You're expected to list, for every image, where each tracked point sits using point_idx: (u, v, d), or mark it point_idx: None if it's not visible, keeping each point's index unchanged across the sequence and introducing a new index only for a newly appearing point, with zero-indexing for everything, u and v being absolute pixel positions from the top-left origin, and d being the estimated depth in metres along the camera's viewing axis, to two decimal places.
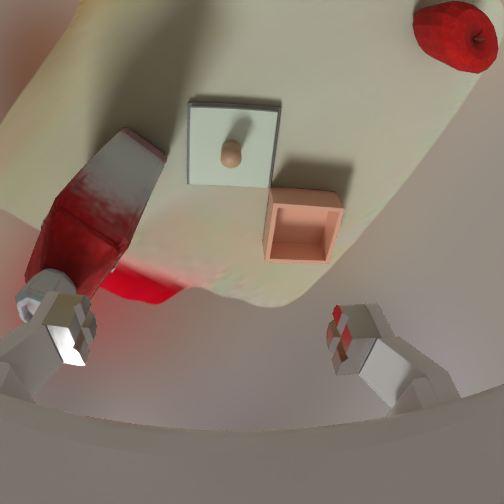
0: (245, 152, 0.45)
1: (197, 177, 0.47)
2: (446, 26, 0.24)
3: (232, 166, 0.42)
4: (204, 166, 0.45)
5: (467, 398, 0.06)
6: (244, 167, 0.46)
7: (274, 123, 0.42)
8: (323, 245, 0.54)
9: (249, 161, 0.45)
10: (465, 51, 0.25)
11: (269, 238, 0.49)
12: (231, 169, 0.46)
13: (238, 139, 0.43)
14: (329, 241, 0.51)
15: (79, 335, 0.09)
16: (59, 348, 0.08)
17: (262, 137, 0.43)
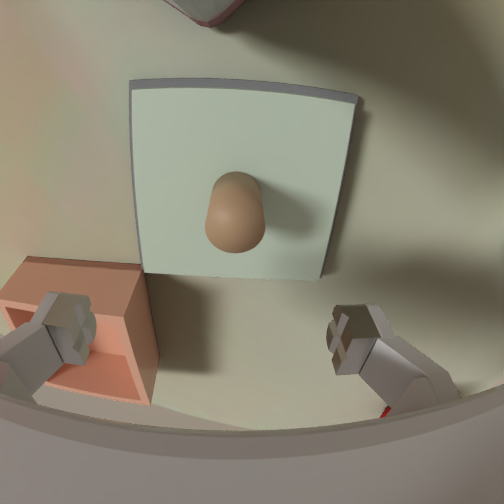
0: None
1: (151, 110, 0.15)
2: None
3: (211, 232, 0.15)
4: (185, 127, 0.16)
5: (467, 398, 0.06)
6: (187, 224, 0.19)
7: (295, 277, 0.22)
8: None
9: (203, 234, 0.19)
10: None
11: None
12: (179, 195, 0.18)
13: None
14: (80, 382, 0.24)
15: (79, 335, 0.09)
16: (59, 348, 0.08)
17: (264, 258, 0.21)
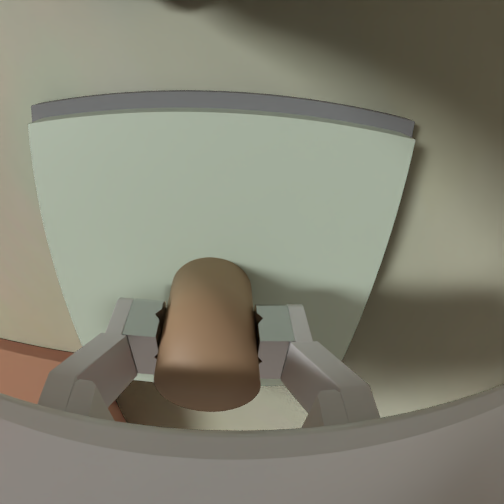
0: None
1: (58, 157, 0.08)
2: None
3: (166, 390, 0.08)
4: (116, 186, 0.09)
5: (467, 398, 0.06)
6: None
7: None
8: None
9: None
10: None
11: None
12: (122, 291, 0.11)
13: None
14: None
15: None
16: (137, 358, 0.08)
17: None
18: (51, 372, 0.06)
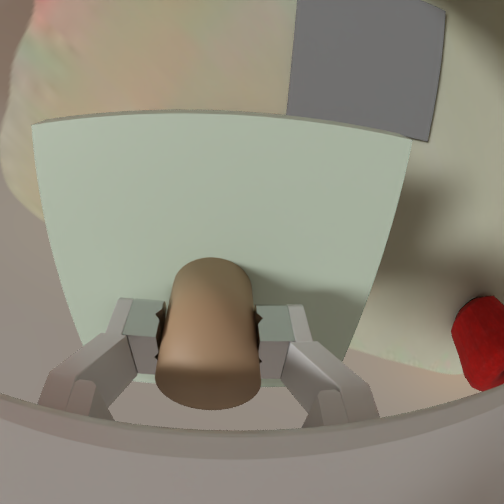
0: None
1: (62, 158, 0.08)
2: None
3: (167, 388, 0.08)
4: (118, 187, 0.09)
5: (467, 398, 0.06)
6: None
7: None
8: None
9: None
10: (503, 367, 0.26)
11: None
12: (123, 291, 0.11)
13: None
14: None
15: None
16: (137, 358, 0.08)
17: None
18: (51, 372, 0.06)
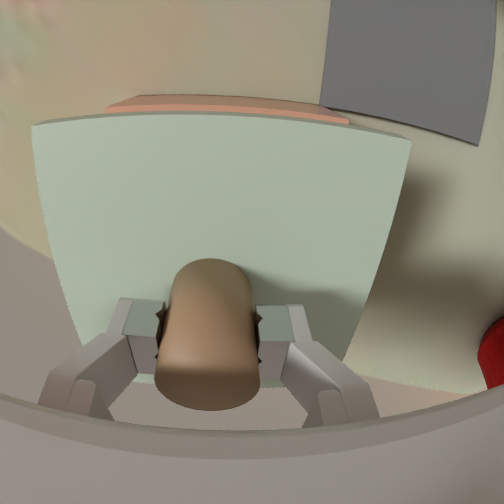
0: None
1: (61, 159, 0.08)
2: None
3: (166, 389, 0.08)
4: (118, 187, 0.09)
5: (467, 398, 0.06)
6: None
7: None
8: None
9: None
10: None
11: (208, 108, 0.13)
12: (123, 292, 0.11)
13: None
14: None
15: None
16: (137, 358, 0.08)
17: None
18: (51, 372, 0.06)
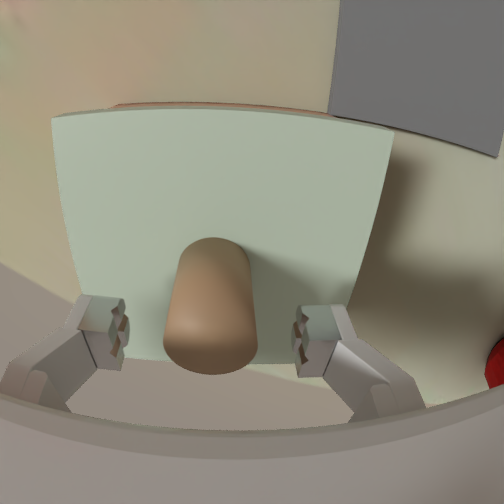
0: None
1: (79, 148, 0.09)
2: None
3: (173, 352, 0.09)
4: (131, 174, 0.10)
5: (467, 398, 0.06)
6: (148, 305, 0.13)
7: None
8: None
9: None
10: None
11: None
12: (133, 270, 0.12)
13: None
14: None
15: (115, 339, 0.09)
16: (94, 353, 0.08)
17: None
18: (11, 362, 0.06)
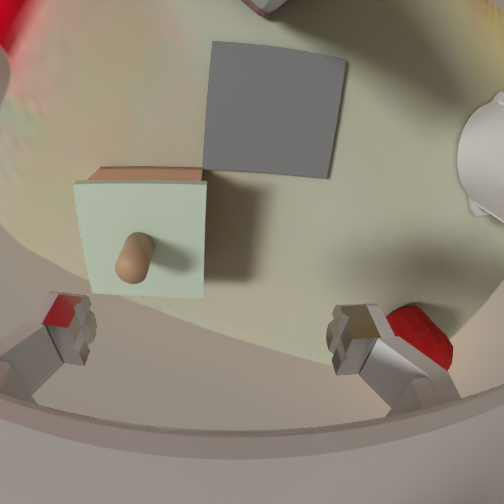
0: None
1: (85, 197, 0.25)
2: (438, 349, 0.35)
3: (118, 272, 0.25)
4: (106, 207, 0.26)
5: (467, 398, 0.06)
6: (114, 263, 0.29)
7: (186, 295, 0.32)
8: None
9: None
10: None
11: None
12: (107, 246, 0.28)
13: (155, 254, 0.29)
14: None
15: (79, 335, 0.09)
16: (59, 348, 0.08)
17: (164, 283, 0.31)
18: None
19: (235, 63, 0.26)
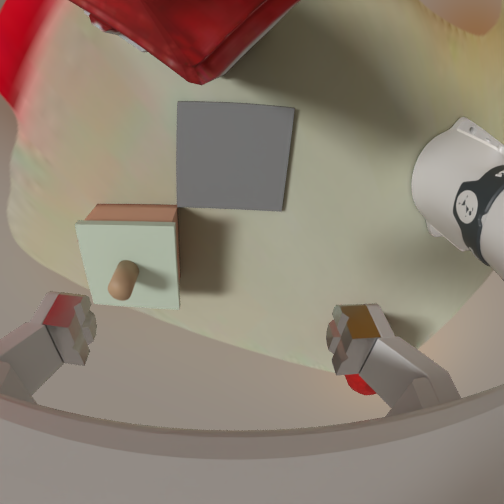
0: None
1: (84, 233, 0.33)
2: None
3: (110, 292, 0.33)
4: (100, 241, 0.34)
5: (467, 398, 0.06)
6: (109, 282, 0.37)
7: (166, 307, 0.39)
8: None
9: None
10: None
11: None
12: (103, 270, 0.36)
13: (140, 276, 0.37)
14: None
15: (79, 335, 0.09)
16: (59, 348, 0.08)
17: (148, 298, 0.38)
18: None
19: (197, 120, 0.33)
